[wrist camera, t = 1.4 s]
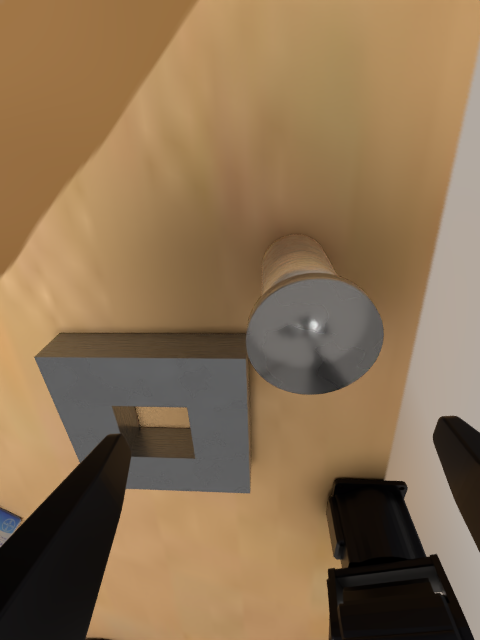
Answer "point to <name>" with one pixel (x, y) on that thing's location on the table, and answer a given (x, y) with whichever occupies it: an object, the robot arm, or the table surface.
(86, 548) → the robot arm
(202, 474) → the socket block
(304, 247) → the silver flanged peg
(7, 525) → the medicine box
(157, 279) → the table surface
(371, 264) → the table surface
